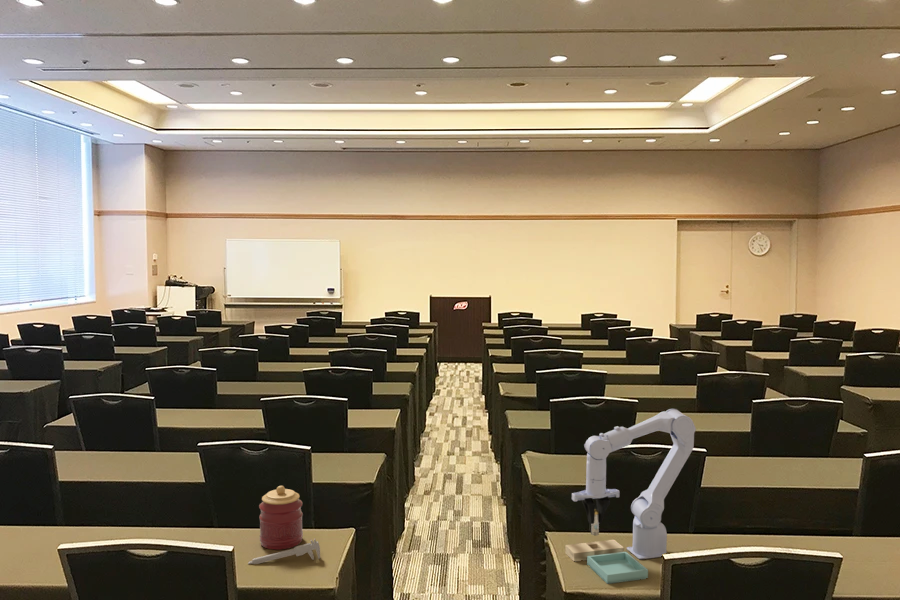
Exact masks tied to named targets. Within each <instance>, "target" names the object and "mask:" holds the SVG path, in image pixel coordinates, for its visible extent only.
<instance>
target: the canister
mask: <svg viewBox="0 0 900 600" xmlns="http://www.w3.org/2000/svg"><path fill="white" fill-rule="evenodd" d="M302 507H303V501H302V500H301V499H300V493H298V492H296V491H295V490H293V489H288V488H285V486H284V485H279V486H277V487H276V489H273V490H269V491H268V492H267V493H265V494H264V495H263V496H261V503H259V505H258V508H259V510H260V514H259V542H260V545H261V546H262V547H263V548H265V549H268V550H289V549H290V548H291V549H293V548H295V547H296V546H299V545H300V544H301V543H302V542H303V536H304V535H303V533H304V532H303V516H304V514H303V512H302V509H301V508H302Z"/></svg>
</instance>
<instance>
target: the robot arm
mask: <svg viewBox="0 0 900 600" xmlns="http://www.w3.org/2000/svg"><path fill="white" fill-rule="evenodd" d="M696 430H697V427H696V426H695V424H694V420H693V419H692V418H691V417H690V416H687V415H685V414H684V413H682V412H681V411H680V410H679V409H677V408H669V409H667V410H666V411H665V410H664V411H661V412H659V413H657V414H656V415H654V416H652V417H650V418H647V419H645V420H644V421H641V422H638V423H637V424H634V425H632V426H630V427H628V428H627V427H624V426H618V425H617V426H614V427H613V429H612V430H609V431H607V432H605V433H603V432H600V433H599V435H592V436H590V437H588V439H586V441H585V443H584V444H583V446H584V449H585V451H586V452H587V453H586V473H585V474H586V475H585V479H586V480H585V489H584V490H581V491H577V492H571V500H572V501H573V502H578V501H580V502H581V503H582V504H583V507H584V509H585V512H586V517H587V522H588V523H589V524H590V525H591V524H593V523H594V510H595V509H596V510H598V511H599V524H602V523H603V520H604V517H605V514H606V511H607V509H608V507H609V506H610V505H611V499H610V498H620V490H619V489H616V488H607V486H606V485H607V457H608V456H609V454H610V453H613V452H615V451H618V450H620V449H623V448H625V447H628V446H630V445H631V443H632V442H633V440H634V439H637V438H640V437H643V436H645V435H648V434H651V433H655V432H659V431H660V432H663V433H668V434H670V437H671V441H672V443H673V444H672V446H671V448H670V450H669V452H668V453H667V455H666V457H664V460H663V461H662V464H661V465H660V467H659V468H658V470H657V472H656V474H655V476H654V478H653V479H652V481H651V483H650V484H649V486H648V488H647V489H645V490H643V491H641V492H640V495H639V496H638V497H636V498H635V499H634V500H632V503H631V505H630V511H631V513H632V514H633V516H634V518H633V521H632V546H627V547H626V550H627V551H629V552H630V553H631V554H633V555H634V556H635V557H636V558H637V559H639V560H645V559H646V560H648V559H654V558H662V557H661V556H662V554H664V553H667V545H668V544H667V543H668V542H667V540H668V536H667V535H668V534H667V528H666V526H665V525H664V524H663V523H662V522H661V521H662V515H663V512H664V509H665V499H666V497H667V495H668V494H669V492H670V489H671V488H672V486H673V484H674V483H675V481H676V480H677V478H678V476H679V474H680V472H681V471H682V469H683V468H684V465H685V464H686V462H687V460H688V459H689V457H690V455H691V453H692V452H693V450H694V444H695V433H696ZM594 500H595V502H594Z"/></svg>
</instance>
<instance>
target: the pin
mask: <svg viewBox="0 0 900 600" xmlns="http://www.w3.org/2000/svg"><path fill="white" fill-rule="evenodd" d="M599 524H600V523H599V511H598V510H597V508H595V510H594V523H593V524H590V526H591V527H590V534H591V536H594V537H596V536H599V533H600V530H599V529H600V527H599V526H600V525H599Z"/></svg>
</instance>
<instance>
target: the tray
mask: <svg viewBox="0 0 900 600" xmlns="http://www.w3.org/2000/svg"><path fill="white" fill-rule="evenodd" d="M586 565H587V566H588V565H589V566H590V567H589V566H588V567H589V568H590V569H591V570H592V571H593V572H594V573H595V574H596V575H598V577H599V578H601V580H602V581H604V582H605V583H606V585H608V584H609V585H610V584H617V583H625V582H631V581H632V582H633V581H640V579H641V580H646V578H648V579H649V569H648V568H647V567H645V565H643V564H641V563H640V562H639V561H638V560H637V559H636V558H634V557H633V556H632V555H631V554H630V553H628V551H624V552H619V553H610V554H602V555H593V556H587V560H586Z"/></svg>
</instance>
